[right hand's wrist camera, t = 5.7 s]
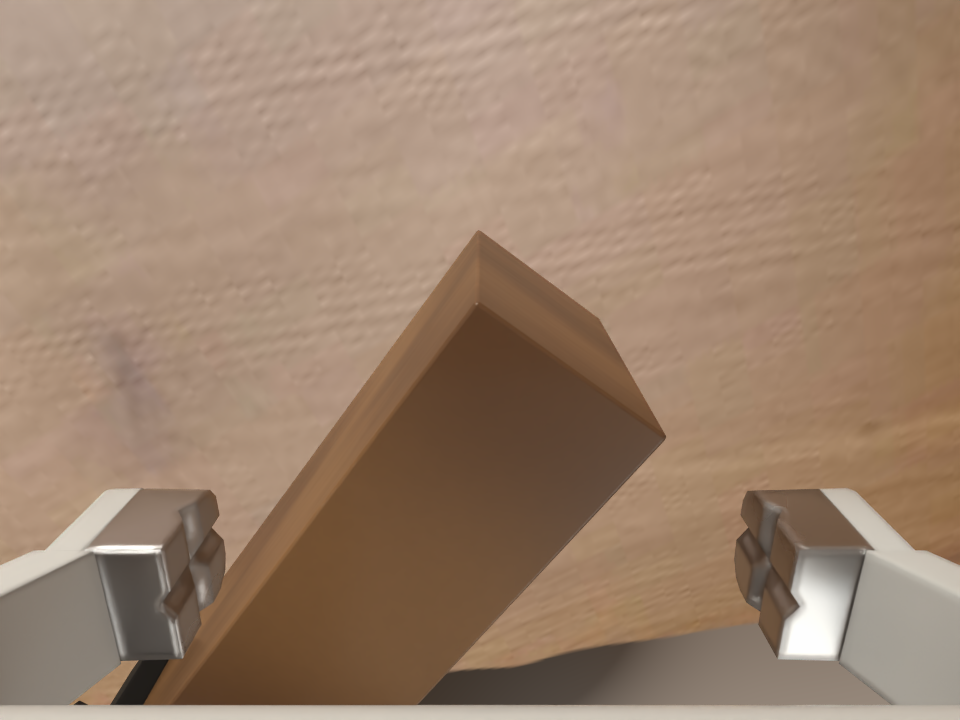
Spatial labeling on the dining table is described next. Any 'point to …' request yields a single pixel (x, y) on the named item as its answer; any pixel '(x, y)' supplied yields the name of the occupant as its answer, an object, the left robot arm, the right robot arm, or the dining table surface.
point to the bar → (426, 500)
